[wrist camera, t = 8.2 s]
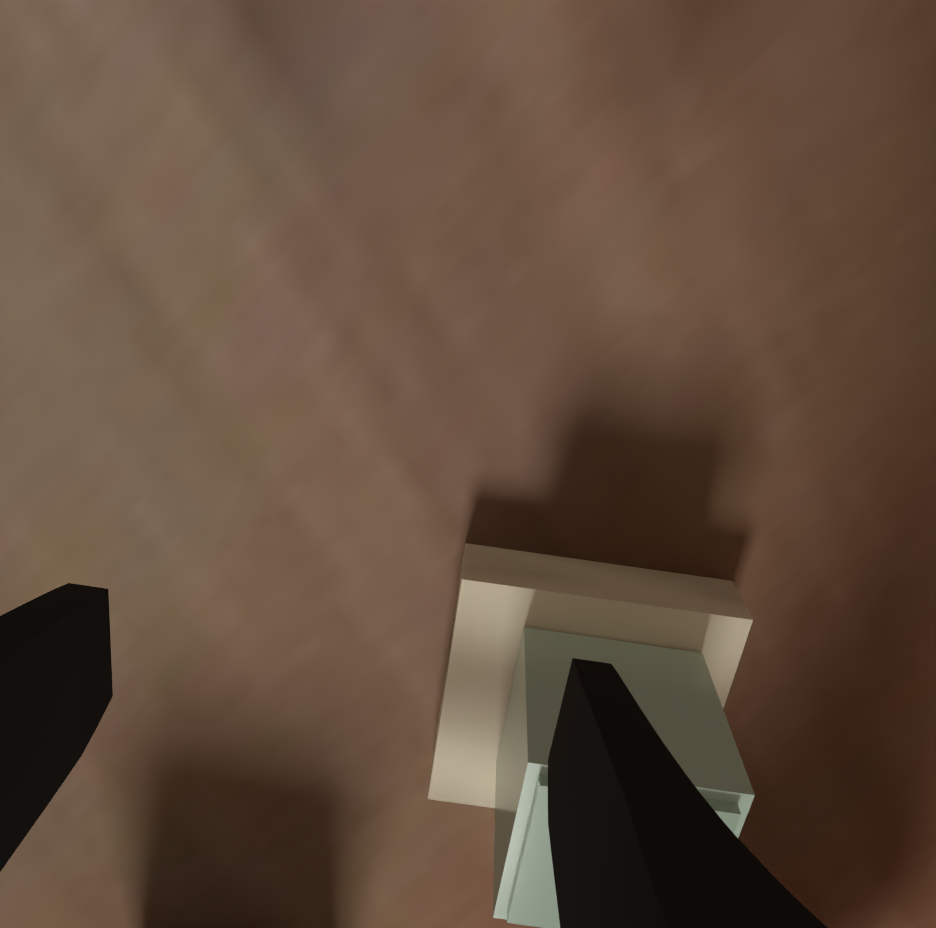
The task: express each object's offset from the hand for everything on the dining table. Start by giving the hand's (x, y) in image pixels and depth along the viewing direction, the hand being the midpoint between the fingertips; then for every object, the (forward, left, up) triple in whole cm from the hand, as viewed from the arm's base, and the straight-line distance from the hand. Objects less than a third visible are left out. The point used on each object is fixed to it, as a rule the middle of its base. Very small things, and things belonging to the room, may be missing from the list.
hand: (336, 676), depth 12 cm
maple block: (-7, -6, -11) cm, 14 cm away
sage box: (-7, -6, -8) cm, 13 cm away
